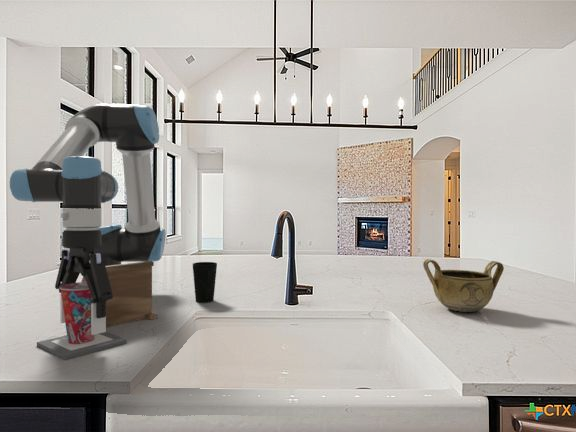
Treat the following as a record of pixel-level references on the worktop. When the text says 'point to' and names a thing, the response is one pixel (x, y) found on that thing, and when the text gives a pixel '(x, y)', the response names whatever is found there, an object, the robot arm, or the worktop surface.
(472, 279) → the ceramic bowl
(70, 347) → the mat
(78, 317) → the cup
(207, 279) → the cup
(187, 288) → the worktop surface
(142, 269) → the screen
